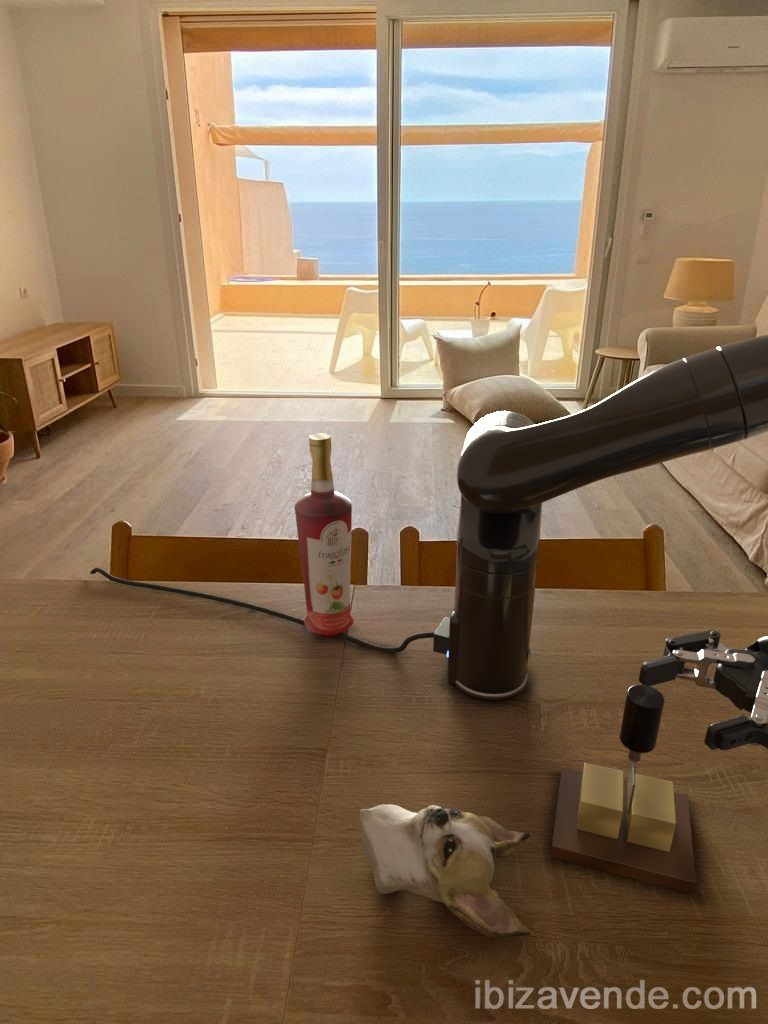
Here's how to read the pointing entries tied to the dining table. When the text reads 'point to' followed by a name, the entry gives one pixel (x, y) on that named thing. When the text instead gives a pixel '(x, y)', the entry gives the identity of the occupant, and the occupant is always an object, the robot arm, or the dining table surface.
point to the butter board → (624, 827)
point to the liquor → (325, 546)
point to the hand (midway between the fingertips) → (673, 705)
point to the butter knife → (640, 727)
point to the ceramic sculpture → (443, 861)
